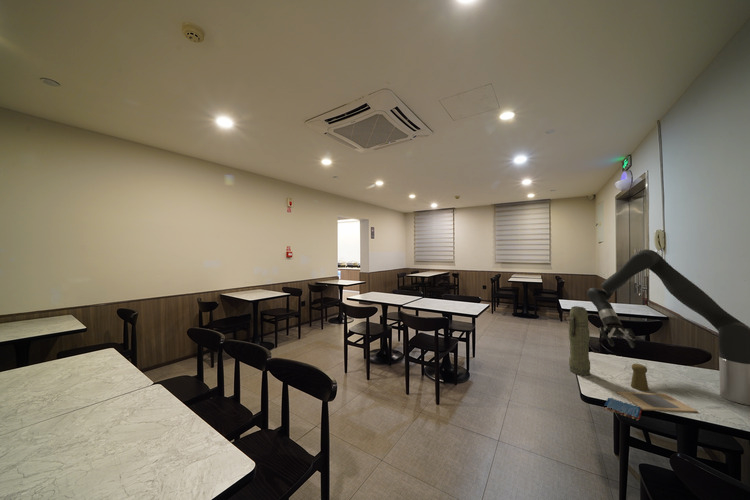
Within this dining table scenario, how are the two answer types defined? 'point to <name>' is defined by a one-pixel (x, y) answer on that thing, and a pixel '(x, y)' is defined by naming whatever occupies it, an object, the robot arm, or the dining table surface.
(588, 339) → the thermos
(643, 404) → the tan flat board
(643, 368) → the cork
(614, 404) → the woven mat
